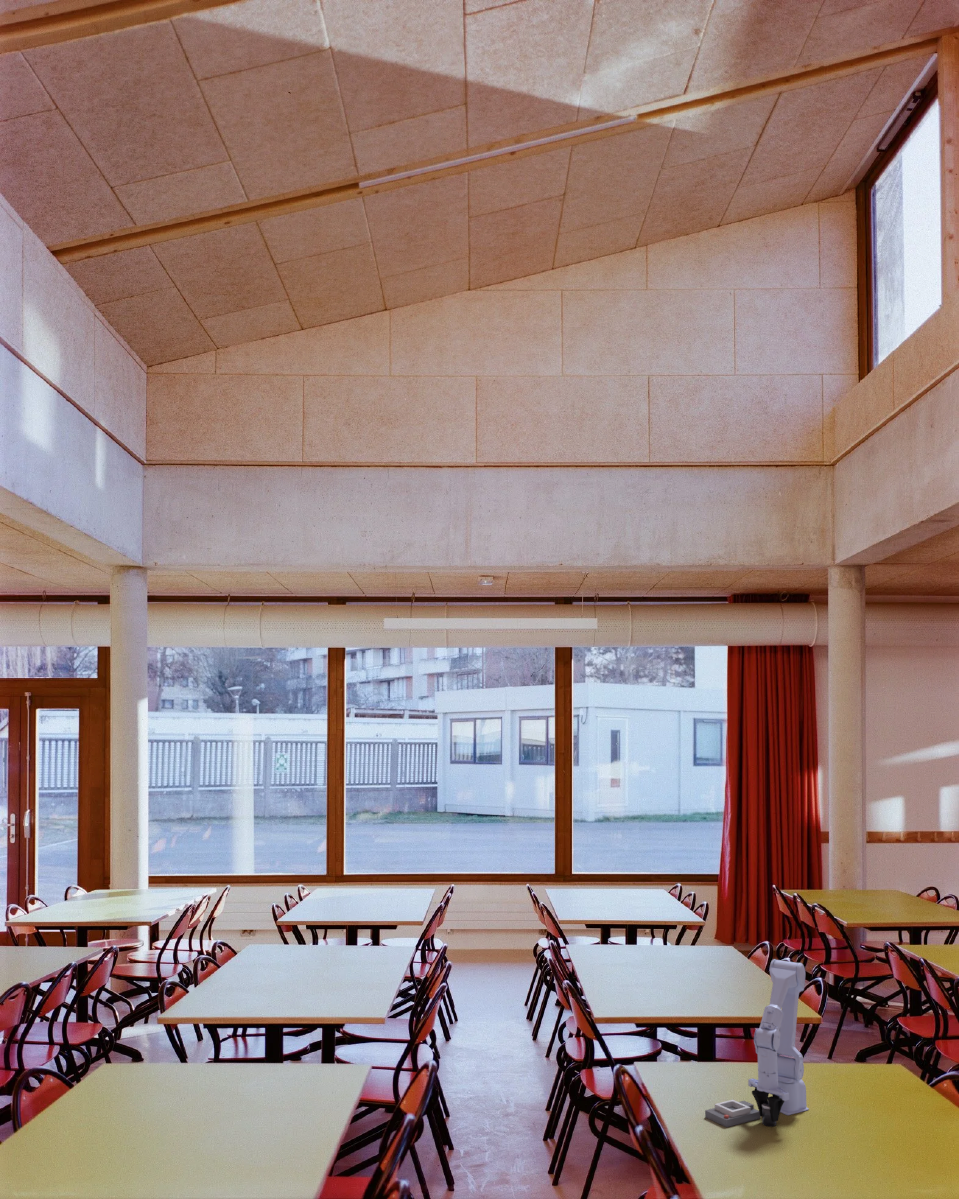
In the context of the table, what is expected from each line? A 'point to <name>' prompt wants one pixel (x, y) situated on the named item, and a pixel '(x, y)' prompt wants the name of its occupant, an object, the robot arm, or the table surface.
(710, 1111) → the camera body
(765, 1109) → the lens
